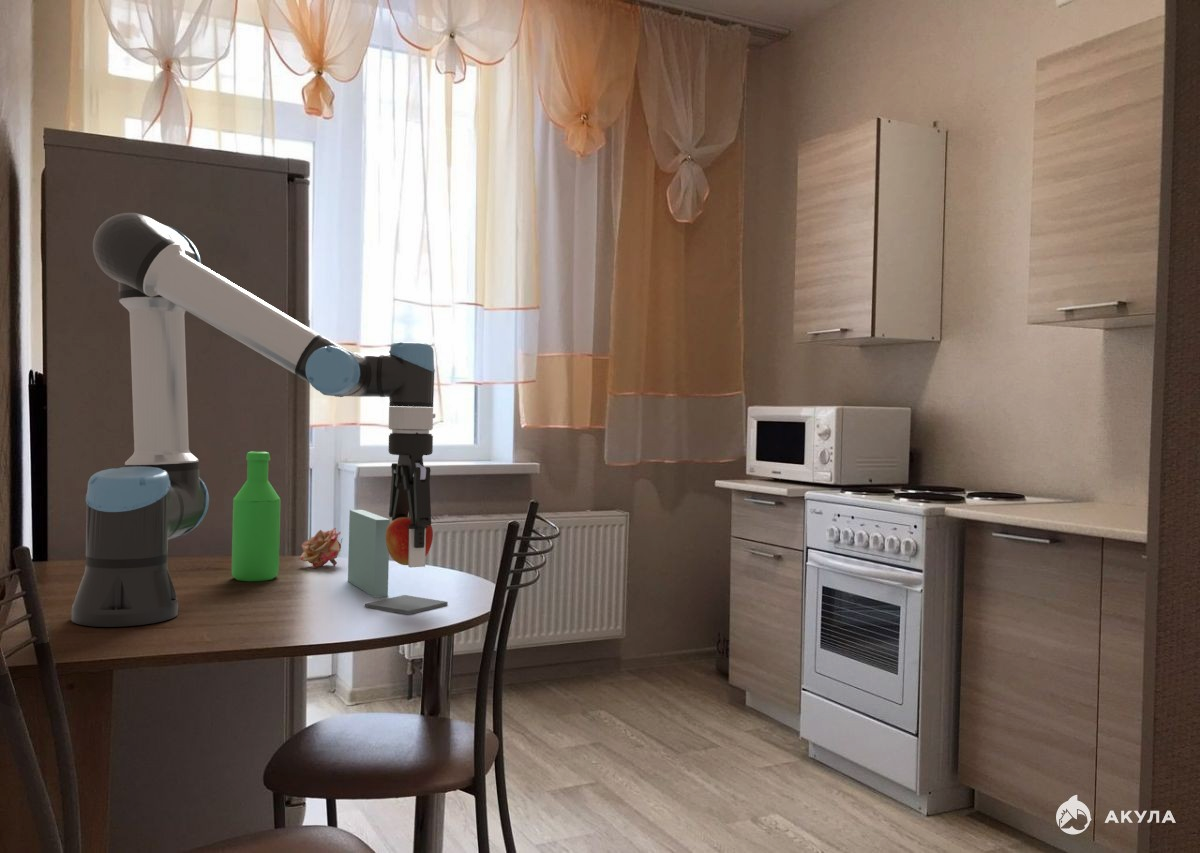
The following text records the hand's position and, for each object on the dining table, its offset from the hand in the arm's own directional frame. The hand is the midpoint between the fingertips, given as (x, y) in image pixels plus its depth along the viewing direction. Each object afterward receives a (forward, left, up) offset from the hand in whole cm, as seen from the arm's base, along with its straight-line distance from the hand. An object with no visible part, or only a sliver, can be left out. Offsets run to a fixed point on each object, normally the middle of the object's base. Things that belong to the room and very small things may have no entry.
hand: (408, 562), depth 168 cm
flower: (+20, +42, -8) cm, 47 cm away
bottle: (+2, +41, -8) cm, 42 cm away
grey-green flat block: (+8, +17, -8) cm, 20 cm away
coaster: (0, 0, -8) cm, 8 cm away
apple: (0, 0, 0) cm, 0 cm away
